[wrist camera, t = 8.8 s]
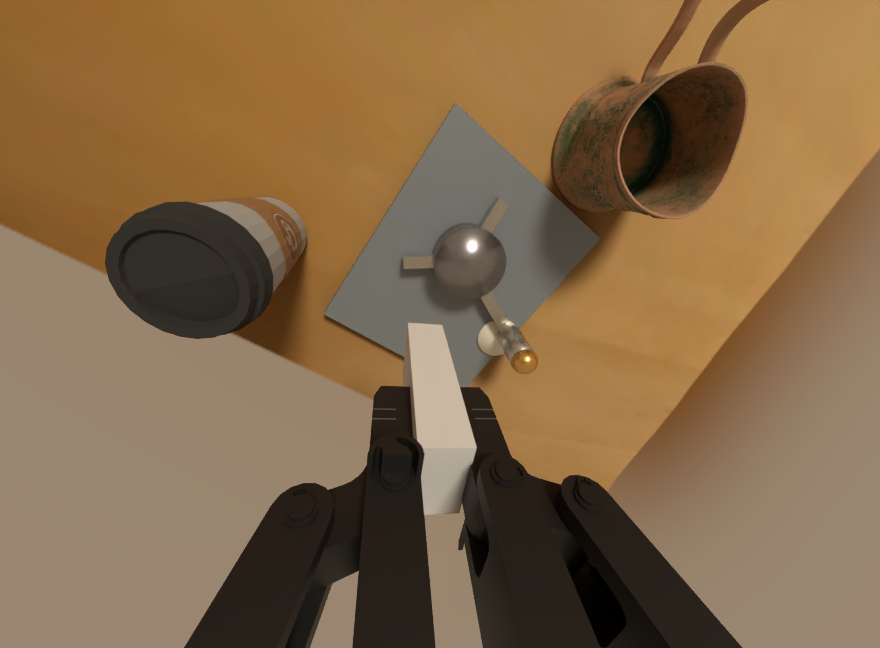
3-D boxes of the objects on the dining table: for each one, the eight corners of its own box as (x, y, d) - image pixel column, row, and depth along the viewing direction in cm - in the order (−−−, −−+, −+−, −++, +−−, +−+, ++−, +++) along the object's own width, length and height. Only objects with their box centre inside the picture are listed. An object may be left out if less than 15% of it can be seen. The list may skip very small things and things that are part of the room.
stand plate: (325, 309, 36) (322, 315, 34) (453, 105, 28) (456, 102, 27) (468, 386, 43) (470, 393, 42) (600, 241, 35) (608, 244, 34)
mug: (716, -5, 26) (926, -113, 16) (640, 214, 34) (746, 239, 24) (589, -26, 25) (727, -162, 14) (540, 208, 33) (606, 231, 22)
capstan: (398, 256, 32) (397, 280, 26) (500, 192, 30) (526, 201, 24) (469, 364, 40) (483, 403, 33) (556, 318, 38) (587, 350, 31)
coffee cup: (329, 263, 33) (282, 332, 20) (251, 278, 33) (151, 357, 20) (300, 177, 29) (218, 192, 16) (211, 193, 29) (53, 222, 16)
